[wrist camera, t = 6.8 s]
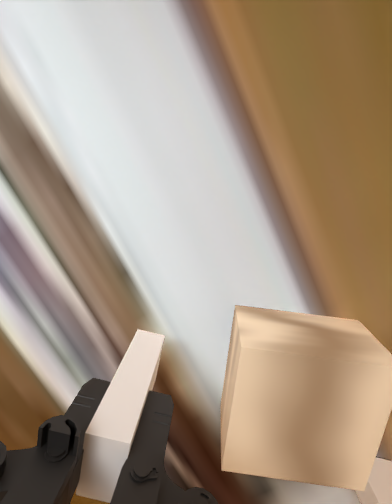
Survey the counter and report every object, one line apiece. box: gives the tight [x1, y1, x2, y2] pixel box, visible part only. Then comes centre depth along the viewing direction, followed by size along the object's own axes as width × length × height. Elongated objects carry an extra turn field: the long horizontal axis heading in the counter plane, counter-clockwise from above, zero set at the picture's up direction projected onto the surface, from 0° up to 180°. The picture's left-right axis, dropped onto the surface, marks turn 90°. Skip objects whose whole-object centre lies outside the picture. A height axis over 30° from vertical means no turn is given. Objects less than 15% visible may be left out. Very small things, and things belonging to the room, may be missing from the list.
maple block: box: [220, 305, 392, 491], centre depth 16 cm, size 7×7×4 cm
